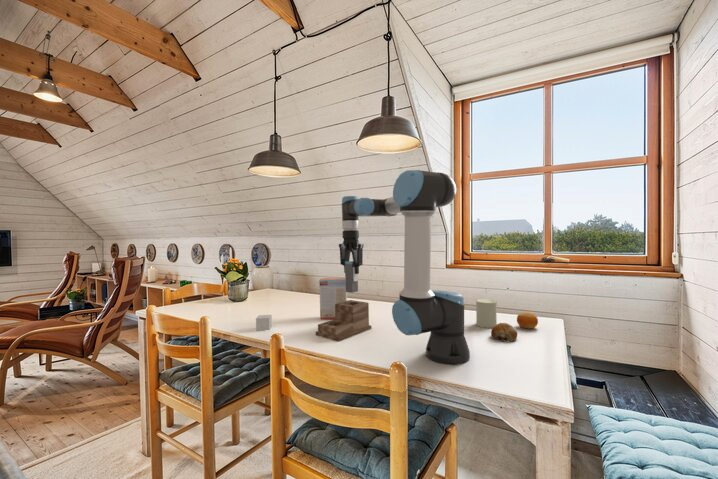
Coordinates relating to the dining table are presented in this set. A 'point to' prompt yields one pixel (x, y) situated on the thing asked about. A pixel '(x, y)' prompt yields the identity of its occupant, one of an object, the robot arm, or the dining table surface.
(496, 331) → the bread roll
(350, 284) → the plug
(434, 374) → the dining table surface
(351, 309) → the wooden desk organizer
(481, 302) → the can
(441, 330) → the robot arm
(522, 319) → the fruit
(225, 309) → the dining table surface
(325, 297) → the cracker box
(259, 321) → the gray cube
